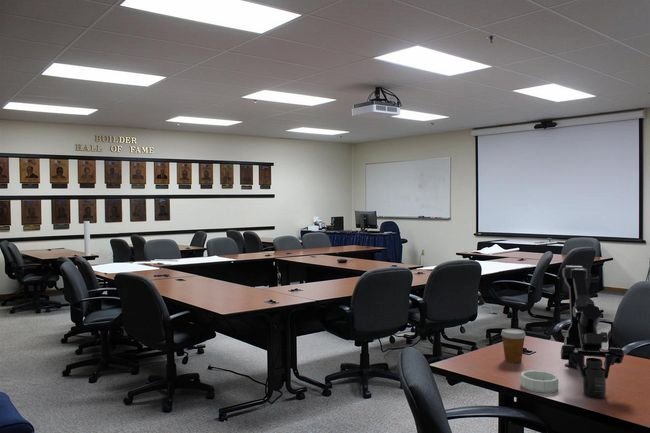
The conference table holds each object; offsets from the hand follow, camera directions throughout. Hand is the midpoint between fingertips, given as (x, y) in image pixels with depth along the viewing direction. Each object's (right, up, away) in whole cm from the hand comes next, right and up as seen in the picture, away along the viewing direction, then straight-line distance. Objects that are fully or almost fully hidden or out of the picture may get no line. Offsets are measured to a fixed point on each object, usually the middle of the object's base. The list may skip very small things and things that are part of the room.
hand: (595, 377), depth 174 cm
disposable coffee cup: (-12, -6, +42) cm, 44 cm away
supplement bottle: (0, -7, +1) cm, 7 cm away
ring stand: (-14, -7, +11) cm, 19 cm away
